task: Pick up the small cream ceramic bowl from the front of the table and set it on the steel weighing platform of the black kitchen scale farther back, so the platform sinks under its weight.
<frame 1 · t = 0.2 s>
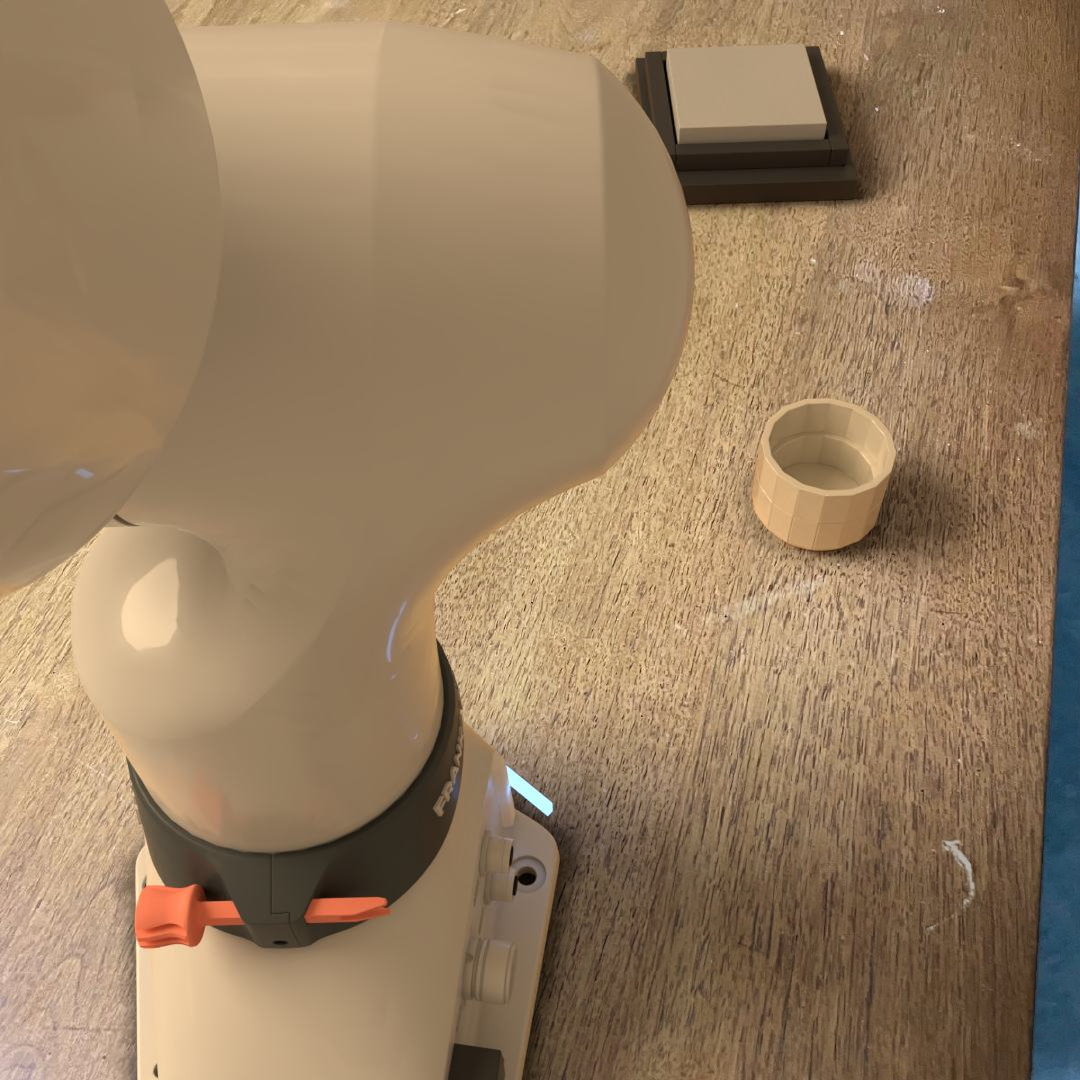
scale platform: (743, 94, 85), point 3 cm above the table, slide at 0.0 cm
scale: (738, 134, 88), on the table
bowl: (813, 506, 66), on the table
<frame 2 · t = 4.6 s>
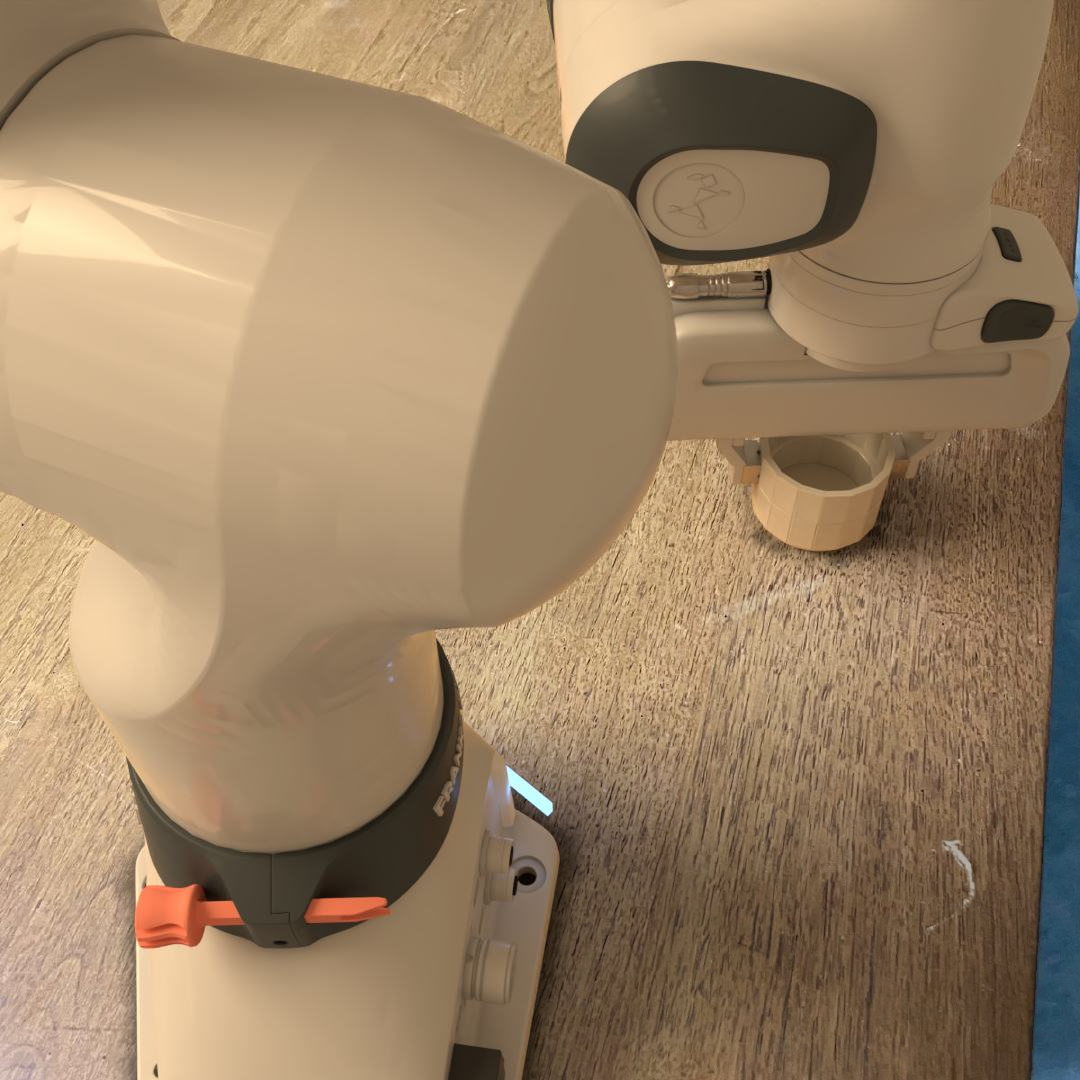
hand: (820, 472, 65), 2 cm above the table, tool pointing down, fingers closed on bowl, 7 cm apart
bowl: (812, 506, 66), on the table, touching gripper
everything else where it was.
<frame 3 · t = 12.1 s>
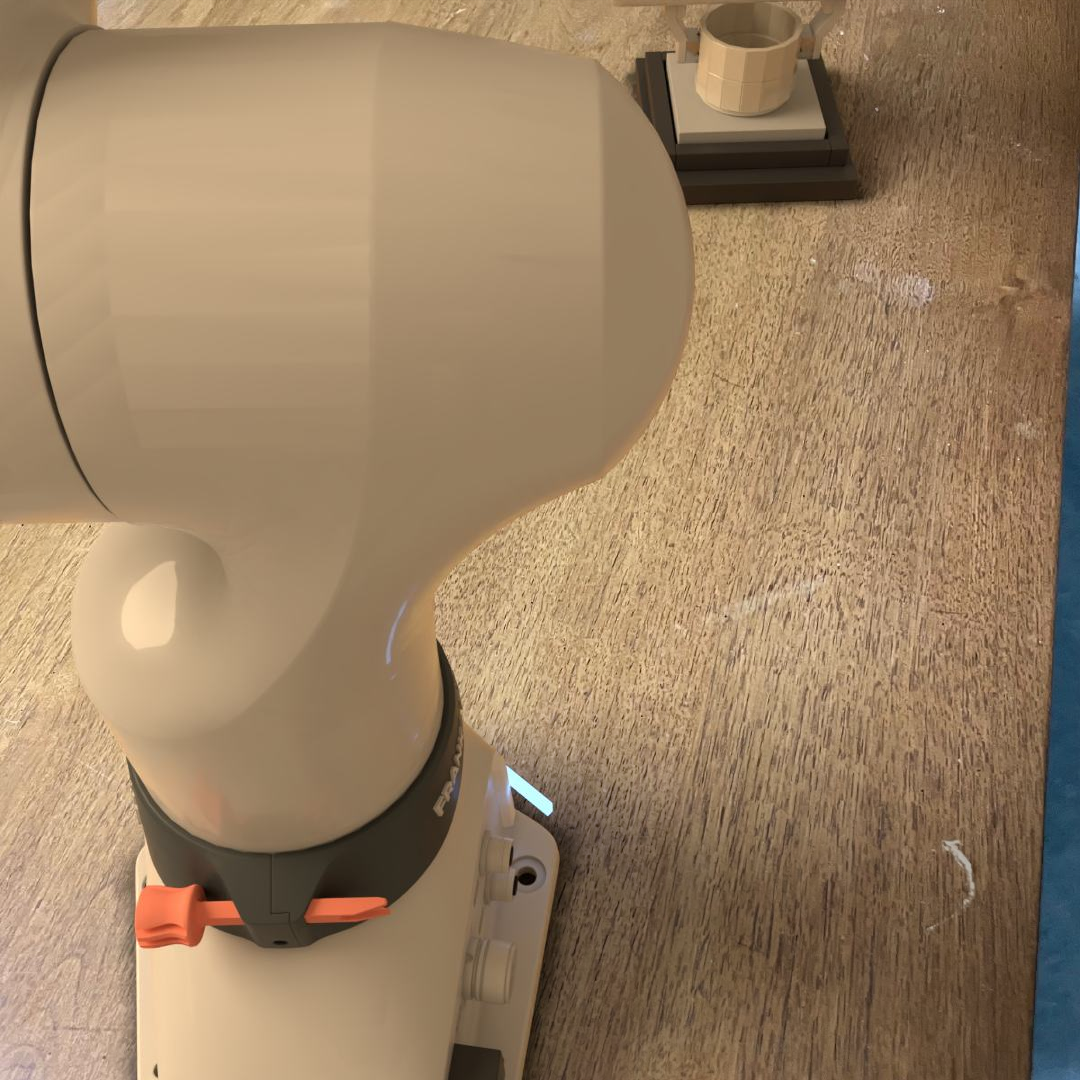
hand: (746, 57, 83), 6 cm above the table, tool pointing down, fingers closed on bowl, 7 cm apart
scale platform: (742, 98, 85), point 3 cm above the table, slide at -0.4 cm, touching bowl
bowl: (742, 91, 85), point 4 cm above the table, touching gripper, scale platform
everything else where it was.
when the fingers open (6 cm above the table, at t = 12.2 s): bowl stays where it is, resting on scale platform.
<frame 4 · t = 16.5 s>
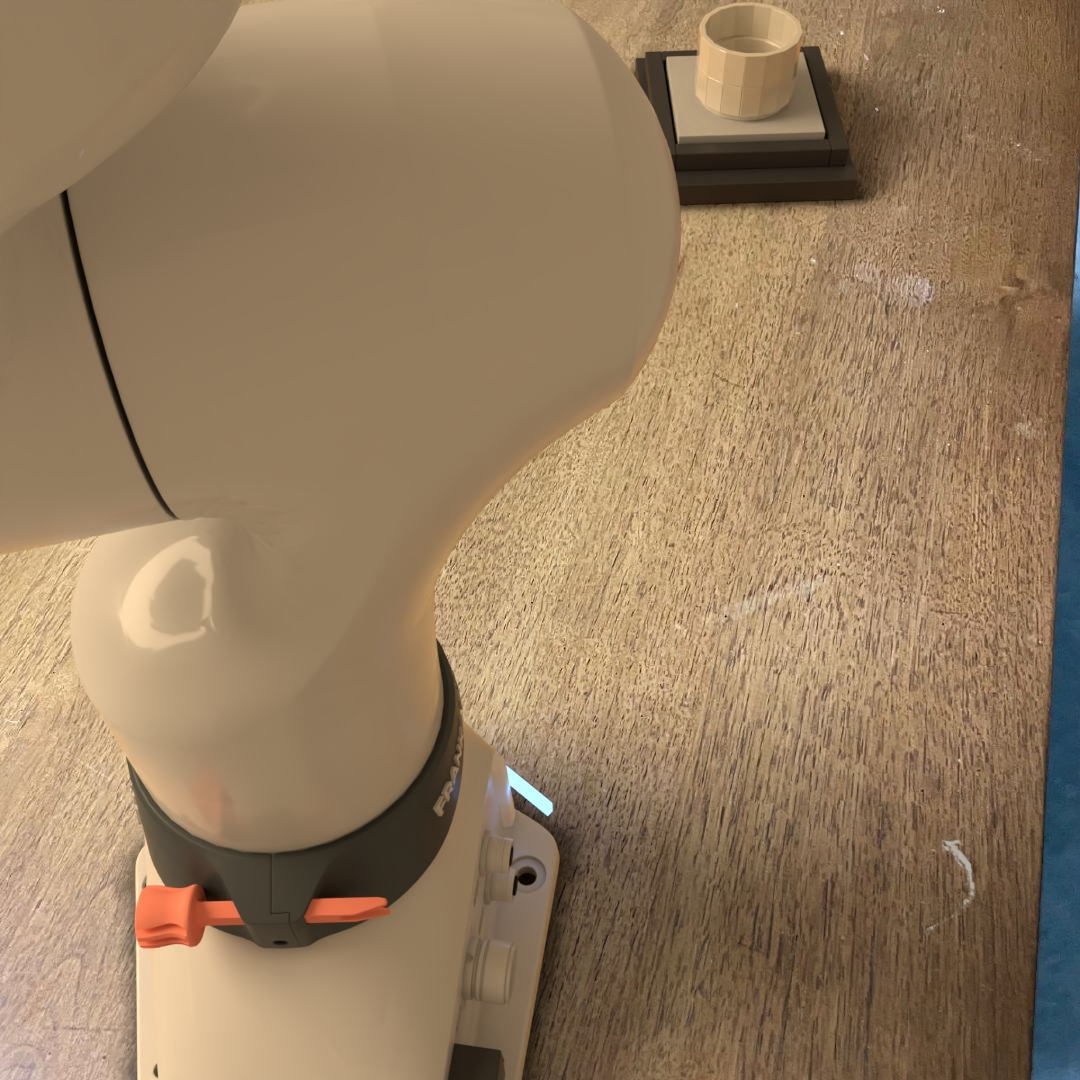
bowl: (742, 95, 85), point 3 cm above the table, touching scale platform
everything else where it was.
at the end: bowl 0.4 cm off-centre on the scale, point 3.4 cm above the scale's base; bowl tilted 0°; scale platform slide at -0.7 cm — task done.
